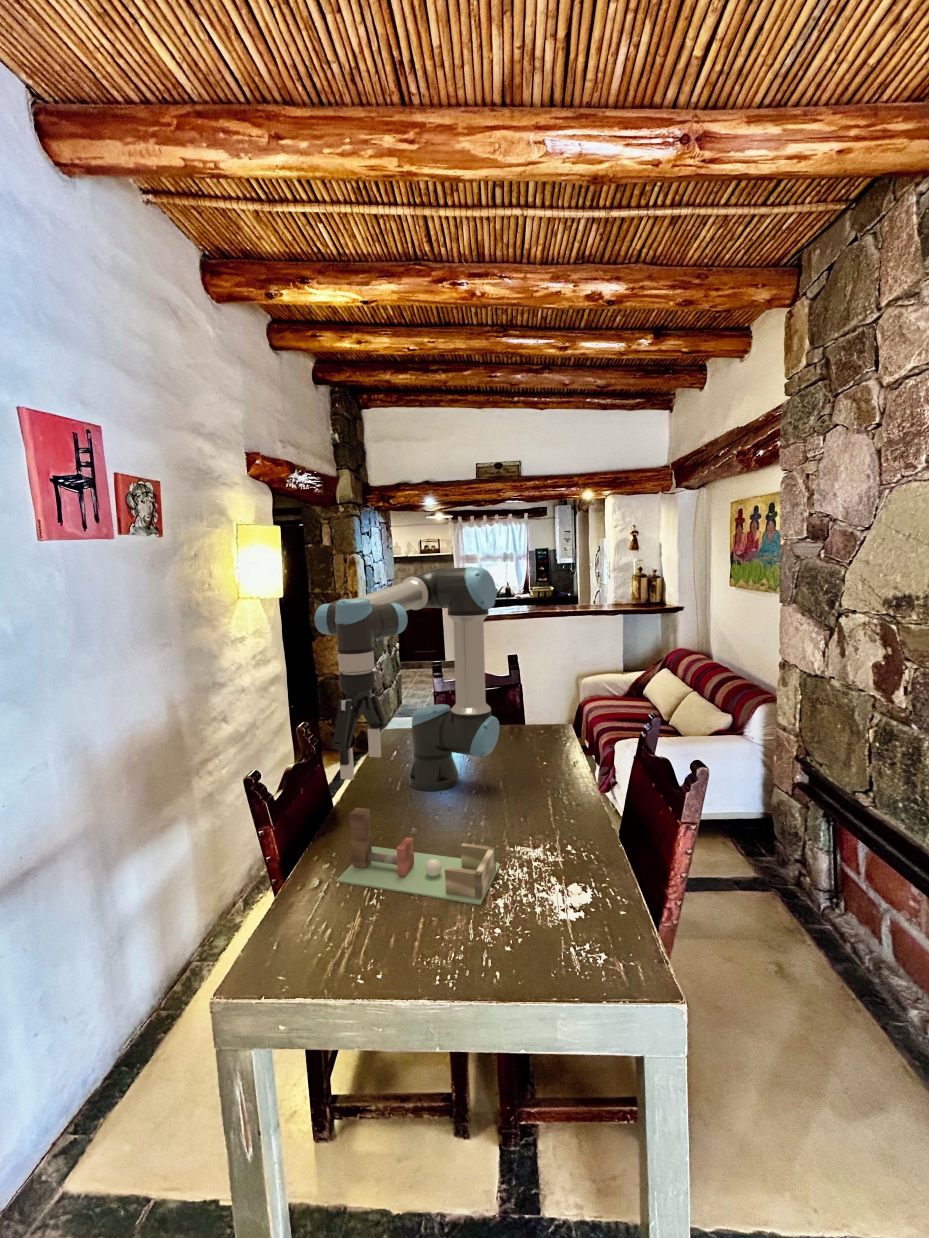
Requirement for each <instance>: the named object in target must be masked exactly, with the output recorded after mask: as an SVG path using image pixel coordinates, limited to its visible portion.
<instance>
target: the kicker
mask: <svg viewBox="0 0 929 1238" xmlns="http://www.w3.org/2000/svg"><path fill="white" fill-rule="evenodd" d="M370 811H371V810H370V809H369V808H364V807H355V808H354V809H353V810H352V811H351V812H349V828H350V829H349V830H350V831H349V832H350V844H351V845H350V846H351V848H350V849H351V862H352V863H351V864H353V866H358V867H364V868H366V867H367V866H368V865H369V863H370V862H371V861H374V862H381V863H387V864H394V865H397V866H398V875H401V876H405V875H406V874H407V873H408V871H409V870H410V869H411V868H412V866H413V865H414V852H415V851H414V838H413V837H407V836H406V837H405V838H404V839H403V840H402V841H401V842H400V844H399V845H398V846H397V847H396V850H397V856H395V855H388V854H380V853H373V852H372V832H371V815H370V814H371V813H370Z"/></svg>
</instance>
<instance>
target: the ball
mask: <svg viewBox="0 0 929 1238" xmlns="http://www.w3.org/2000/svg"><path fill="white" fill-rule="evenodd" d="M441 869H442V866H441V863H440V861H438V860H437V859H430V860H429V861H428V862H427V863H426V865H425V870H426V873H427V874H428V875H429V876H433V877H434V876H437V875H439V873H440V872H441Z"/></svg>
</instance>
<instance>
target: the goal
mask: <svg viewBox="0 0 929 1238" xmlns="http://www.w3.org/2000/svg"><path fill="white" fill-rule="evenodd" d="M460 855H461V856H460V859H461V864H462V868H467V869H474V870H476V871H473V870H466V869H459V868H452V867H446V869H445V885H446V893H447V894H453V895H460V896H466V897H472V898H479V899H481V898H482V896H483V894H484V892H485V890H486V888H487V886H488V884H489V882H490V880H491V878H492V876H493V874H494V872H495V870H496V863H497V861H496V860H497V859H496V847H495V846H488V845H481V844H478V845H477V844H470V843H463V842H462V844H461V845H460Z"/></svg>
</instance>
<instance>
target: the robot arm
mask: <svg viewBox="0 0 929 1238" xmlns="http://www.w3.org/2000/svg"><path fill="white" fill-rule="evenodd" d="M496 600H497V588H496V583H495V580H494V578H493V576H492V574H491V573H490V572H489V570H487V569H485V568H483V567H473V566H468V567H467V566H466V567H440V568H433V569H429V570H427V571H423V572H420V573H417V574H414V575H411V576H408V577H406V578H404V579H403V580H402V582H401V583H398V584H395V585H391V586H389V587H386V588H383V589H382V588H381V589H380V590H377V591H373V592H371V593H367V594H364V595H361V596H358V597H355V598H345V599H343V598H342V599H340V600H337V602H336V603H333V602H330V603H323V604H320V606H318V607H317V609H316V611H315V613H314V618H313V619H314V626H315V628H316V629H317V631H318V632H319V633H321V634H322V635H328V636H329V635H330V636H332V637H335V636H336V644H337V655H336V656H337V657H336V658H337V661H338V663H337V664H338V671H340V673H339V675H338V682H339V690H340V691H341V692H344V693H345V699H339V700H338V701H337V715H336V721H335V727H334V734H333V740H332V745H331V747H332V749H333V750H338V754H339V756H338V757H339V773H340V780H348V781H349V780H350V781H353V780H354V779H355V770H354V769H355V766H354V753H353V752H354V751H353V750H354V749H353V747H351V746H352V745H351V744H352V741H353V737H354V735H355V731H356V727H357V723H358V721H359V720H360V719H361V716H363V718H364V719H365V722H367V724H368V725H367V726H369V727H368V728H367V743H368V756H369V757H370V758H381V757H382V748H381V730H380V729H383V728H384V727H385V717H384V714H383V711H382V707H381V705H380V701H379V696H378V694H377V693H378V691H377V687H376V676H375V675H376V674H375V672H374V670H373V669H375V657H374V656H375V655H374V641H375V640H379V639H382V638H383V639H384V638H387V637H388V638H389V637H394V636H397V635H399V634H401V633H403V632H404V631H405V630H406V628H407V625H408V621H409V620H408V619H409V618H408V614H407V611H410V610H412V611H413V610H414V611H418V610H421V609H427V608H428V609H430V608H431V609H432V608H433V609H434V608H435V609H447V617H448V618H449V619H451V620H452V622H453V648H454V649H453V653H454V683H455V686H454V687H455V704H454V705H453V706H452V707H451V706H450V705H449V704H443V703H441V704H440V703H439V704H438V703H437V704H432V705H427V706H426V705H425V706H423V707H420V708H418V709H415V710H414V711H413V712H412V715H411V729H412V731H411V733H412V748H413V750H412V751H413V760H412V763H411V766H410V770H409V775H408V783H409V784H408V785H409V786H410V787H411V788H414V789H416V790H417V791H418V790H419V791H423V792H425V791H426V792H434V791H437V792H438V791H442V790H443V791H444V790H447V789H451V788H453V787H454V786H456V785H457V784H458V783H459V779H460V778H459V770H458V768H457V764H456V762H455V760H454V757H453V753H455V754H461V755H467V756H471V757H483V758H484V757H486V756H489V755H490V754H491V753H492V752H493V750H494V749H495V747H496V745H497V742H498V739H499V735H500V728H501V727H500V721H499V720H498V718H497V717H495V716H494V715H492V708H491V706H490V705H489V704H488V703H487V702H486V701H487V700H486V699H487V698H486V672H485V671H486V670H485V667H486V666H485V664H486V663H485V635H484V634H485V632H484V631H485V630H484V629H485V628H484V625H485V624H484V620H485V619H486V618H487V617H488V616H489V612H490V611H489V610H490V609H492V608H493V607H494V606H495V604H496Z"/></svg>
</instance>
